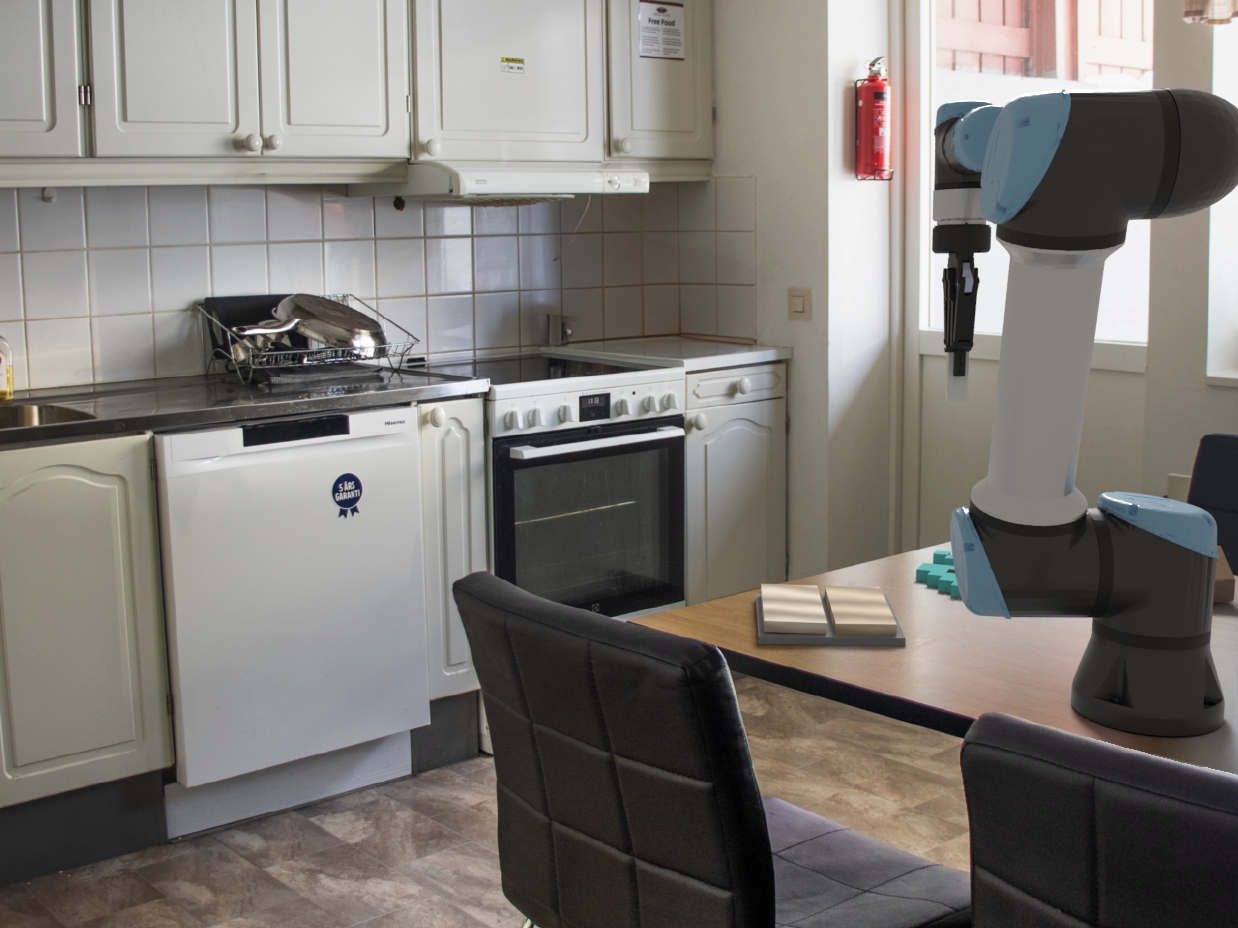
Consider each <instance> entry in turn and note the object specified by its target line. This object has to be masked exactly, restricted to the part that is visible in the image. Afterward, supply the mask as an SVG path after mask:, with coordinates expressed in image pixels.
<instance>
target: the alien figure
mask: <svg viewBox="0 0 1238 928" xmlns="http://www.w3.org/2000/svg"><path fill="white" fill-rule="evenodd" d="M932 560H933V561H932V563H929V562H922V563H921V564H920V565H919V566H918V567H917V568H916V569H915V581H916V582H917V581H918V582H926V586H927V587H935V588H938V592H943V593H950V595H949V597H950V598H957V599H958V598H959V599H962V598H961V595H960V592H959V588H958V584H957V580H956V575H955V569H954V563H953V556H952V554H951V551H946V550H935V552H933V556H932Z"/></svg>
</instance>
